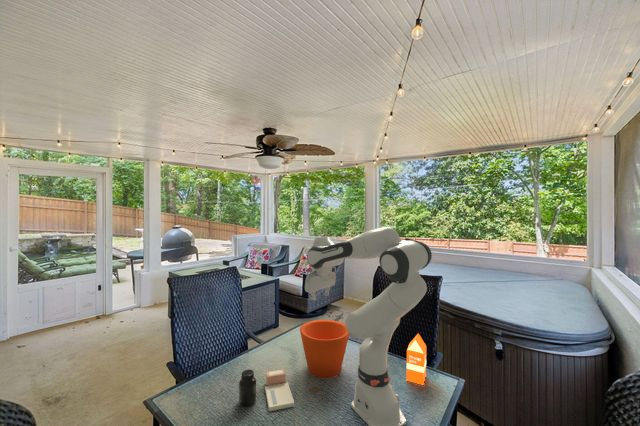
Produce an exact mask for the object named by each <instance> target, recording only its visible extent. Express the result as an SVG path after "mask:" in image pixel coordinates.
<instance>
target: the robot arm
mask: <svg viewBox="0 0 640 426" xmlns="http://www.w3.org/2000/svg"><path fill="white" fill-rule="evenodd" d="M432 257H433V254H432V250H431V249H430V247H429V245H427V244H426V243H424V242H423V241H419V240H415V239H410V238H406V237H405V238H404V239H401V238H400V235H399V233H398V232H397V230H396V229H394V228H393V227H390V226H389V227H388V226H385V227H378V228H373V229H370V230H367V231H364V232H362V233H359V234H357V235H355V236H352V237H350V238H348V239H345V240H343V241H340V242H338V243H334V242H333V241H332V240H331V238H330V237H328V236H319V237H316V238H314V239H313V242H312V246H311V247H310V249H309V250H308V252H307V254H306V260H307V263H308V264H309V265H310V267H311V271H310V272H308V273H307V275H306V277H305V281H304V282H305V283H304V290H305V292H306V293H308V294H309V293H310V295H311V299H312V301H317V298H318V297H317V295H316V293H317V292H318V291H320V290H323V289H325V290H324V292H323V293H324V294H323V296H324V297H329V293H330V290H331V287H334V286H335V285H336V279H337V277H336V276H337V275H336V274H337V273H336V272H337V266H340V265H343V264H344V261H345V259H355V260H356V259H359V260H367V259H368V260H369V259H376V258H377V259H378V258H379V266H380V269H381V271H382V272H383V273H384V275H385V276H386V277H387V278H388V279H389V281H391V283H390V284H389V285H388V286H387V287H386V288H385V289H384V290H383V291H382V292H381V293H380V294H379V295H377V296H376V297H375V298H372V299H370V300H369V301H368V302H366V303H364V304H363V305H362V306H361V307H359V308H358V309H356V310H354V311H352V312H350V313H349V314H347V316H346V319H345V325H346V329H347V331H348V333H349V337H350V336H351V338H353V339H355V340H361V339H364V340H363V341H362V343H361V345H360V346H359V358H358V367H357V381H356V382H355V385H354V397H353V400H352V401H351V403H350V407H351V408H352V410H353V411H354V412H355V413H356V414H357V415H358V416H359V417H360V418H361V419H362V420H363V422H365V423H366V424H367V425H368V426H403V425H404V424H405V423H406V424H407V419H406V416H405V415H404V414H403V412H402V410H401V408H400V404H399V401H400V397H399V394H397V393H395V391H394V387H393V385H391V382H390V380H391V377H390V374H389V370H388V351H389V345H390V343H391V339H392V337H393V334H394V333H395V331H396V329H397V328H398V326H399V325H400V323H401V318H403V317H404V316H406V314H407V313H409V312H410V311H411V310H412V309H414V308H415V307H416V306H417V305H418V304H419V302H421V300H422V299H423V298H424V296H425V295H426V293H427V289H428V287H427V283H426V281H425V279H424V278H423V277H422V276H421V275H420V271H421V270H423V269H425V268H427V267H428V265H429V264H430V263H431V260H432ZM400 423H401V424H400ZM406 424H405V425H406ZM405 425H404V426H405Z"/></svg>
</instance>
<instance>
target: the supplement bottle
mask: <svg viewBox="0 0 640 426" xmlns="http://www.w3.org/2000/svg"><path fill="white" fill-rule="evenodd" d="M254 374H255V373H254V370H253V369H245V370H242V372H241V378H240V380H239V381H238V404H239V406H241V407H242V408H249V407H252V406H254V405H255V404H256V402H257V379H256V377H255V375H254Z"/></svg>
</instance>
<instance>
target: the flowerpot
mask: <svg viewBox="0 0 640 426" xmlns="http://www.w3.org/2000/svg"><path fill="white" fill-rule="evenodd" d="M299 333H300V338H301V342H302V346H303V347H302V348H303V352H304V355H305V361H306V365H307V370H308V373H309V374H310V375H311V376H313V377H314V376H315V378H317V379H322V378H323V380H325V379H326V380H327V379H333V378H335V377H337V376H339V375H340V373H341V369H342V366H343V363H344V362H343V361H344V358H345V354H346V348H347V345H348V342H349V338H350V334H349V333H348V331H347V329H346V323H343V322H342V321H337V320H333V319H316V320H314V319H313V320H311V321H307V322H305V323H303V324H302V325H301V326H300V327H299Z"/></svg>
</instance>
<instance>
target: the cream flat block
mask: <svg viewBox="0 0 640 426" xmlns="http://www.w3.org/2000/svg"><path fill="white" fill-rule="evenodd" d="M264 392H265V396H266V402H267V406H268V408H267V409H268V412H272V411H277V410H282V409H288V408H292V407H295V400H294V398H293V393H292V391H291V388H290V385H289V382H287V381H285V383H280V384H274V385H268V386H267V385H265V386H264Z"/></svg>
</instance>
